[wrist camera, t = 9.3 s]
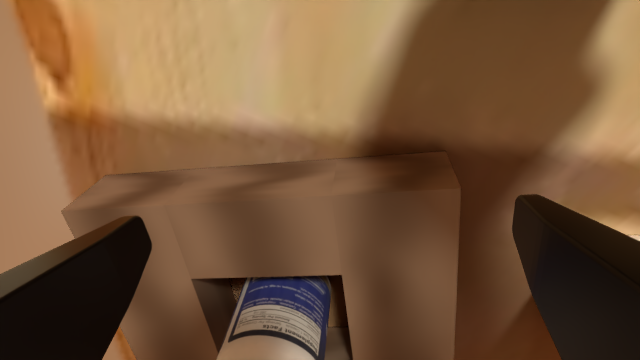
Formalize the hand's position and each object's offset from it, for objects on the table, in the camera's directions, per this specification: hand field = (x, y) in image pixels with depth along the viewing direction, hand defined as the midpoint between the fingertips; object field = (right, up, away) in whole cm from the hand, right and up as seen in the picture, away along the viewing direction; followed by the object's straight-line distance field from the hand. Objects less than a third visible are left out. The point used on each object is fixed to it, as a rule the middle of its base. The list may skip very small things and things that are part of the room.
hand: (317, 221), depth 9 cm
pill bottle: (-2, -6, +17) cm, 18 cm away
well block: (-2, -6, +17) cm, 18 cm away
